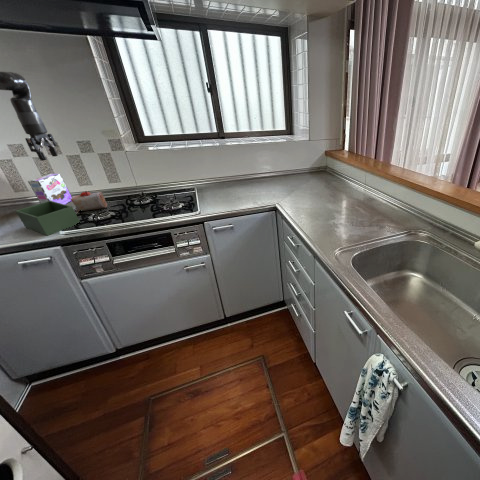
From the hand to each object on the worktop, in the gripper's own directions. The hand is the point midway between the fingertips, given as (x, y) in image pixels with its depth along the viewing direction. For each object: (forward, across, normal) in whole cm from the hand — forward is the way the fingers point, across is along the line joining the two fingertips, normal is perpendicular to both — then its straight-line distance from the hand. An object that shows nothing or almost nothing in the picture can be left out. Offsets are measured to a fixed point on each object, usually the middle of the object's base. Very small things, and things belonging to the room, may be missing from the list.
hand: (49, 158), depth 131 cm
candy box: (+29, -11, -14) cm, 34 cm away
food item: (+28, -1, +8) cm, 29 cm away
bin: (+28, +18, 0) cm, 34 cm away
